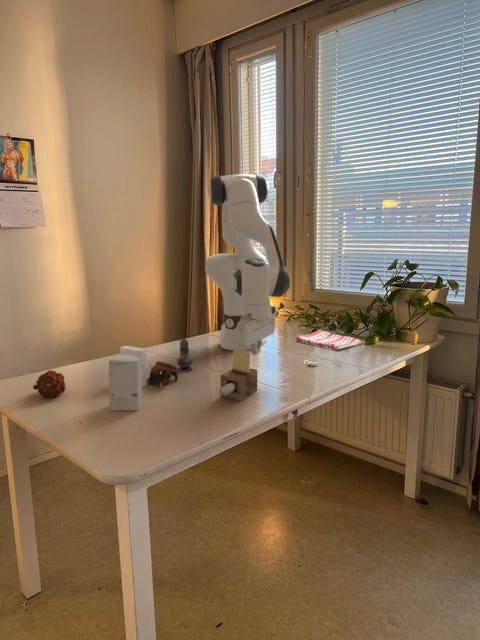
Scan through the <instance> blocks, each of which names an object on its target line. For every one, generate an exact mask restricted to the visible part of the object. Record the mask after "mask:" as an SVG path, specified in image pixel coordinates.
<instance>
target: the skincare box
mask: <svg viewBox="0 0 480 640" xmlns="http://www.w3.org/2000/svg"><path fill="white" fill-rule="evenodd" d="M108 384H109V385H108V388H109V390H108V391H109V394H108V395H109V396H108V397H109V410H110V411H112V412H113V411H114V412H115V411H123V412H124V411H126V412H127V411H135V412H137V411H139V410H140V407H141V406H142V404H143V395H142V393H143V390H142V388H143V387H142V372H141V356H130V355H120V354H118V355H117V354H116V355H112V357H110V358H109V360H108Z"/></svg>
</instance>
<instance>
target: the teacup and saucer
mask: <svg viewBox="0 0 480 640" xmlns="http://www.w3.org/2000/svg"><path fill="white" fill-rule="evenodd" d="M309 354H310V360H311V361H308V360H309V359H306V360H304V361H303V363H304V364H305V361H308V362H307V364H308V365H307V366H310V365H311V366H312V367H317V366H316V365H319V364H318V362H319V361H318V360H320V359H319V358H320V353H319V352H316V351H315V352H314V351H313V352H310V353H309ZM311 366H310V367H311Z"/></svg>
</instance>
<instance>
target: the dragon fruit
mask: <svg viewBox="0 0 480 640" xmlns="http://www.w3.org/2000/svg"><path fill="white" fill-rule="evenodd" d="M37 379H38V380H36V381H35V383H36V384H33V385H32V389H34V390H35V391H37V393H38V394H39V395H40V396H42V397H44V398H45V397H48V398H51V399H52V398H53V399H55V398H57V396H59V395H60V394H63V393H64V392H65V389H66V388H67V387H66V382H65V376H64V375H63V374H62V373H60V372H58V373H57V371H55V370H51V369H50V370H47V371H46V372H45V373H41V374H40V376H38V378H37Z"/></svg>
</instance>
